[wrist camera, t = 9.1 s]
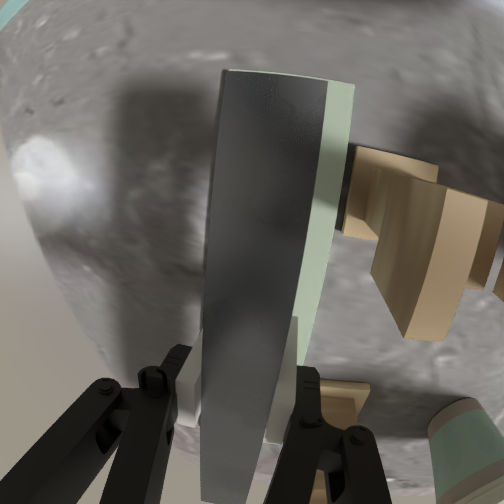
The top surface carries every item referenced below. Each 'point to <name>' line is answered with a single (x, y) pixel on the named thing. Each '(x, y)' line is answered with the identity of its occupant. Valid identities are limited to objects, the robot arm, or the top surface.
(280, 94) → the rail
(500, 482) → the coffee cup
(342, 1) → the top surface
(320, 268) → the mat
